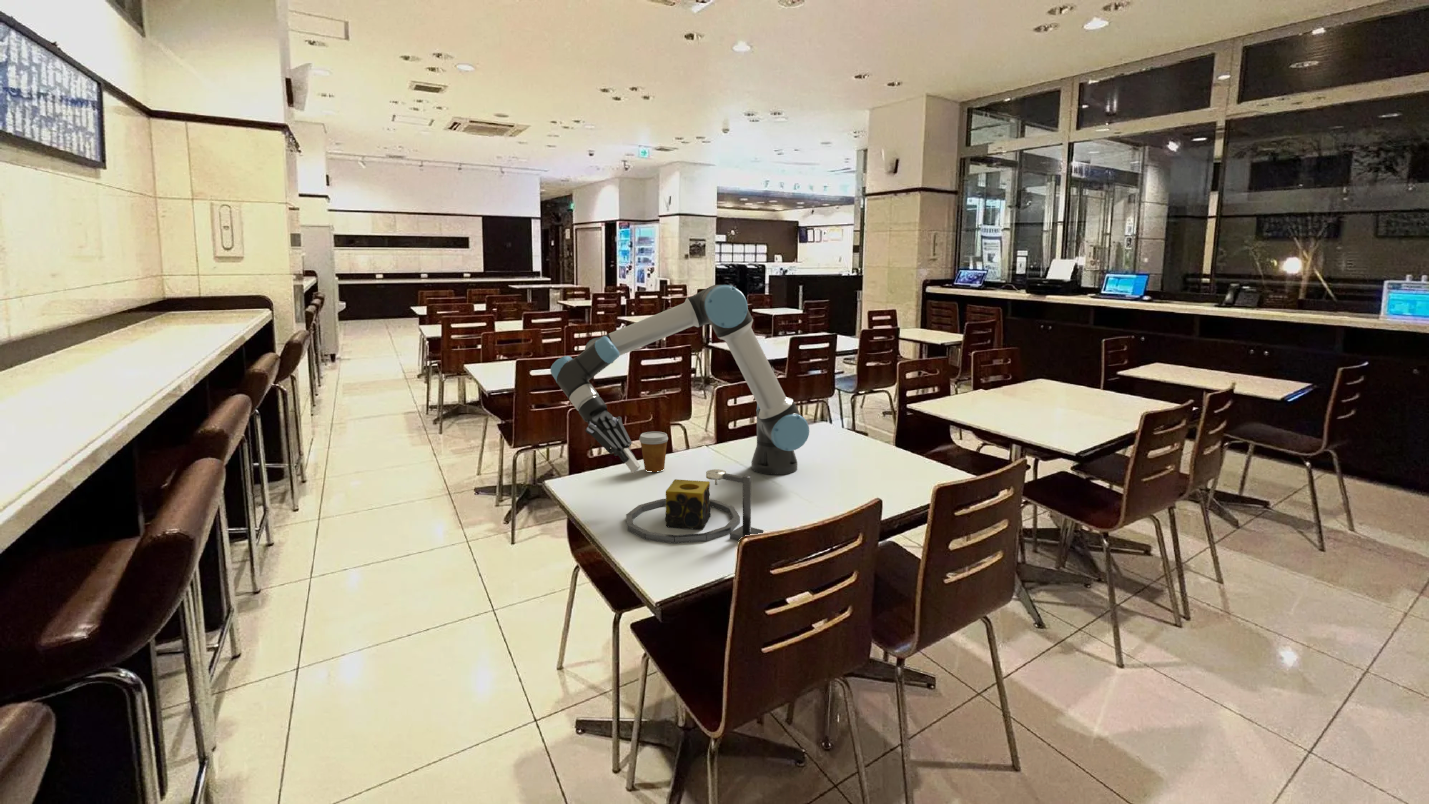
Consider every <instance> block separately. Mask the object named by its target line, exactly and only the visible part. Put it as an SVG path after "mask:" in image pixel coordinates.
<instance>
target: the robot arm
mask: <svg viewBox="0 0 1429 804" xmlns="http://www.w3.org/2000/svg"><path fill="white" fill-rule="evenodd" d="M748 306H749V305H748V301H747V299H746V296H745V295H744V293H743V292H742V291H741V290H739V288H737V287H735V286H733V285H731V284H713V285H711V286H708V287H706V288H704V289H703V290H701V291H699V292H697V293H696V294H694V295H691V296H689V297H687V298H685V301H684V302H683V303H680V304H678V305H676V306H674V307H671V308H669V309H666V310H663V311H662V312H659V313H656V314H653V315H651V316H649V317H646V318H644V319H641V320H639V321H636V322H634V323H631V324H629V325H627V326H624V327H621V328H619V329H617V330H614V331H612V332H610V333H607V334H605V335H602V336H600V337H595V338H592V339H590V340H589V341H588V342H587V343H586V345H585V347H584V350H583V351H582V352H581V353H580V354H578V355H577V356H575V357H574V358H572V356H570V355H565V356H561V358H558V359H556V360H555V361H554V362H553V363H552V365H551V366H550V374H551V376H552V377H553V378H554V380H555V382H556V384H557V386H559V388H560V389H561V390H562V391H563V393H564V394H565V396H566V397H567V399H568V400H569V401H570V403H571V404H572V406H573V407H574V408H575V410H576V411H578V414H579V415H580V417H581V418H582V420H583V421H584V422H586V423H587V425H588V426H587V427H586V429H585V430H584V431H585V432H586V434H589V435H590V436H592V438H594V439H595V441H597V443H599V445H601V446H602V447H603V449H605V450H606V451H607V453H608V454H609V455H613V456H614V457H617V456H618V457H619V459H620V460H621V461H622V462H623V463H624V464H625V465H626V467H627V468H628V469H629V470H630V472H631V473H632V474H634V473H636V472H637V471H638V470H639V469H640V467H641V464H640V462H639V461H638V460H637V458H636V455H635V454H634V453H633V452H632V450H631V449H630V446H631V445H632V443H633V442H632V439H630V436H629V434H628V432H627V430H626V428H625V426H624V424H623V419H622V416H617V417H614V416H613V414H611V413H610V412H609V411H608V405H607V404H606V402H605V401H604V399H603V398H602V397H600V395H599V393H598V392H597V390H596V388H595V387H594V386H593V384H592V383H591V382H590V380H591V379H593V378H594V377H595V376H596V375H597V374H599V373H600V372H601V371H603V370H604V369H606V368H607V367H609V365H611V364H613V363H614V362H615V360H617V359H618V358H619V357H620V356H622V355H625V354H628V353H631V352H632V351H635V350H637V349H640V348H642V347H644V346H647V345H650V344H653V343H655V342H656V341H660V340H662V339H664V338H667V337H669V336H672V335H675V334H677V333H679V332H682V331H684V330H686V329H690V328H692V327H696V328H700V327H702V326H705V325H711V328H712V330H713V331H714V333H715V335H716V337H717V338H718V339H720V340H723V341H725V343H726V345H727V347H728V350H730V351H729V352H730V353H731V355H732V357H733V359H734V360H735V363H736V365H737V366H738V368H739V370H740V372H741V374H742V377H743V379H744V380H745V382H746V384H747V386H748V388H749V390H750V392H751V394H752V396H753V397H754V399H755V402H756V409H755V410H756V411H755V412H756V447H755V450H754V453H753V456H752V458H751V465H750V467H751V470H752V471H754V472H756V473H759V474H764V475H788V474H791V473H794V472H796V471H797V470H798V459H797V457H796V453H795V451H796V450H798V449H800V448H801V447H803V446H804V445H805V443H806V442H807V441H808V438H809V436H810V426H809V424H808V421H807V419H806V418H805V417H804V416H802V415H801V413H800V411H799V409H798V407H797V404H796V402H795V401H794V399H793V398H791V397H787V396H786V394H785V392H784V390H783V388H782V386H781V384H780V382H779V380H778V378H777V376H776V374H775V372H774V370H773V368H772V366H771V364H770V362H769V360H768V359H767V356H766V354H765V353H764V350H763V348H762V346H761V344H760V342H759V340H758V338H757V336H756V334H755V332H754V331H753V330H754V329H753V328H752V325H753V322H754V319H753V317H752V315H751V312H750V311H749V309H748V308H749V307H748Z"/></svg>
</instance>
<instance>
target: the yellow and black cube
mask: <svg viewBox="0 0 1429 804" xmlns="http://www.w3.org/2000/svg"><path fill="white" fill-rule="evenodd" d="M710 486H711V481H708V480H705V481H704V480H693V479H692V480H690V479H677V478H676V479H673V480H672V483H670V486H669V487H668V488H667V489H666V490H665V499H666V506H665V518H664V519H665V520H664V521H665V528H672V529H685V530H700V531H701V530H703V529H704V528H705V527H706V525H707V523H708V521H709V520H710V518H711V517H712V515H711V514H712V513H711V510H712V508H711V506H710V496H711V494H710V493H711V492H710Z"/></svg>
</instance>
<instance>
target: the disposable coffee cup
mask: <svg viewBox="0 0 1429 804" xmlns="http://www.w3.org/2000/svg"><path fill="white" fill-rule="evenodd" d="M638 440H639V442H640V446H641V454H642V459H643V466H644V470H645V469H646V470H647V471H652V472H657V471H661V470H663V469H664V470H665V464H666V456H667V455H666V454H667V445H668V440H669V437H668V434H667V433H666V432H662V431H647V432H642V433H640V436H639V438H638Z"/></svg>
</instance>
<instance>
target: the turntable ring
mask: <svg viewBox="0 0 1429 804" xmlns="http://www.w3.org/2000/svg"><path fill="white" fill-rule="evenodd" d="M709 499H710V498H709ZM664 506H665V507H666V498H660V499H656V500H653V501H649V502H648V501H647V502H646V503H641V504H638V505H637V506H636V507H634V508H633V509H632V510H630V511H629V512H627V513H626V514H625V522H626V527H627V531H628V532H629V533H632V534H634V535H636V536H638V537H639V538H642V539H644V540H646V541H652V542H660V543H667V544H687V543H701V542H708V541H711V540H715V539H717V538H720V537H723V536H727V535H730V532H732V531H734V530H736V529H737V526H738V525H740V523H741V516H740V515H739V513H738V511H737V509H736V508H735V507H734V506H732V505H730V504H728V503H725V502H722V501H720V500H717V499H713V498H711V499H710V506H711V507H713V508H714V509H717V510H720V511H722V512H724V513H728V514H729V516H730V518H731V519H730V521H729V522H728V523H726V525H725V526H721V527H718V528H715V529H712V530H710V531H706V532H704V533H703V532H702V533H701V532H700V533H699V532H698V533H689V534H687V533H686V534H676V535H675V534H668V533H667V534H666V533H660V532H653V531H648V530H646V529H644V528H643V527H640V526H639V525H637V524H634V519H635V518H637V517H638V516H639V515H641V514H642V513H644V512H647V511H649V510H654V509H658V508H660V507H664Z"/></svg>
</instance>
